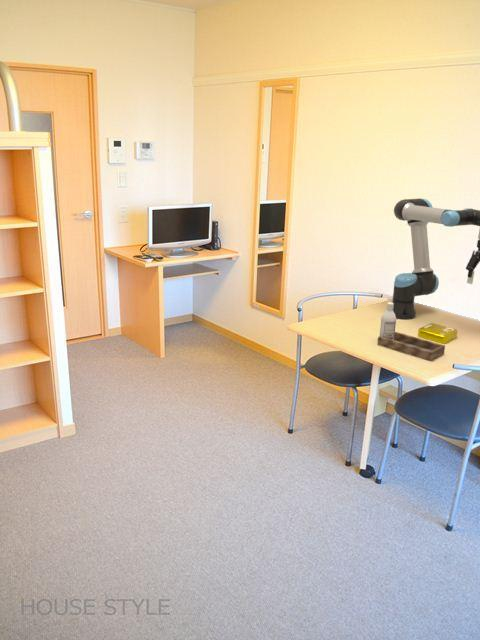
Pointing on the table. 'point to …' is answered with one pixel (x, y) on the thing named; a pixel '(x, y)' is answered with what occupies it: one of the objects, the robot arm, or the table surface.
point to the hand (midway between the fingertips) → (478, 281)
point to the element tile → (437, 333)
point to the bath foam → (388, 322)
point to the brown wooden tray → (413, 346)
